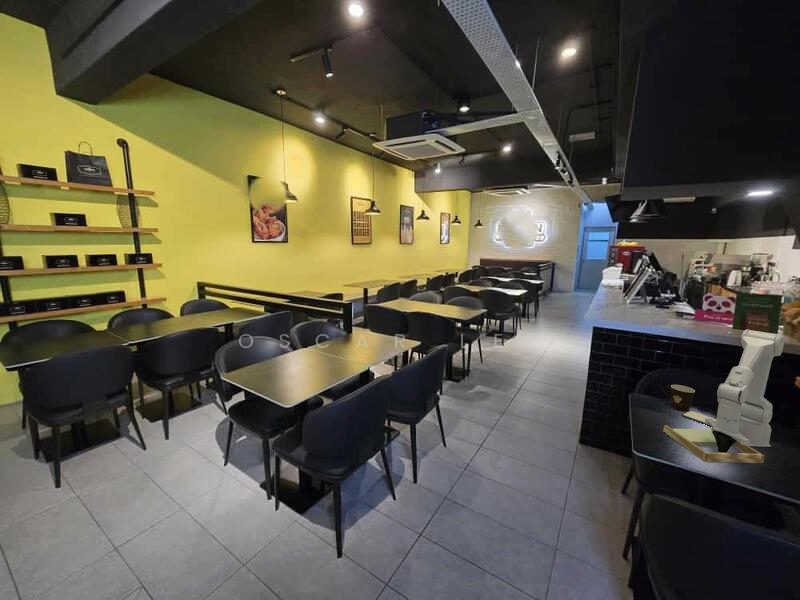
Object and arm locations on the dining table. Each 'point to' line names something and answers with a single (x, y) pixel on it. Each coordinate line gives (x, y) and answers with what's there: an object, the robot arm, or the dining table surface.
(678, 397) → the coffee mug
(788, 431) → the dining table surface
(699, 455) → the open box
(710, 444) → the cover plate
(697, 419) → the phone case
